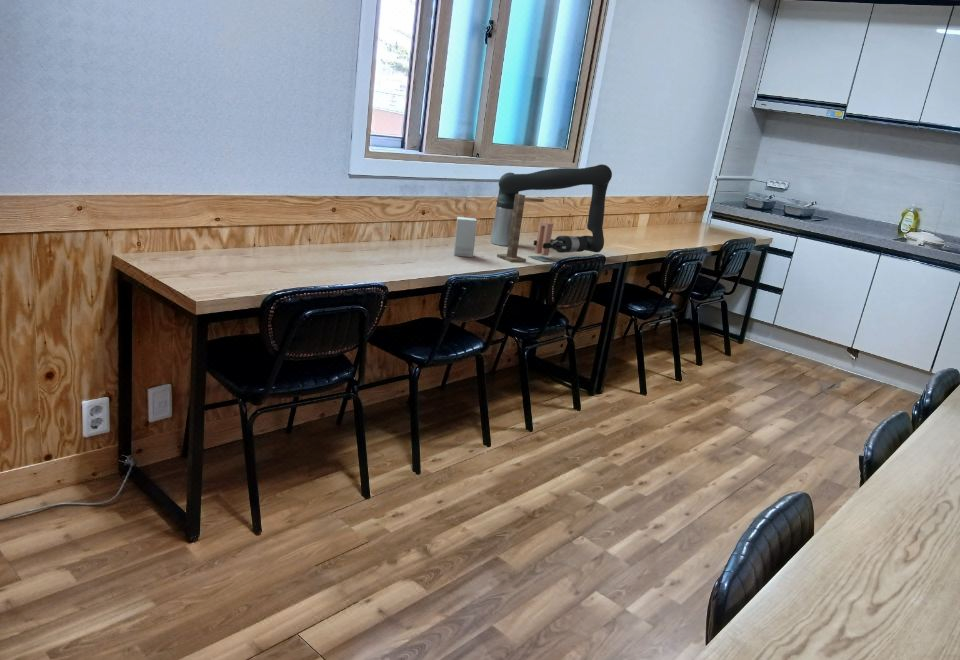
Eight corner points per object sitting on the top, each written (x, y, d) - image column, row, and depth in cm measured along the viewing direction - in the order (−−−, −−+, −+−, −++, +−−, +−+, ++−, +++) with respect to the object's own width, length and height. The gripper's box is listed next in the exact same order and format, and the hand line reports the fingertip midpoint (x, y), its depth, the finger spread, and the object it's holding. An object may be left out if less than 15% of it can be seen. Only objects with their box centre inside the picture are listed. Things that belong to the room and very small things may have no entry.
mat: (528, 256, 327) (528, 256, 327) (541, 256, 332) (541, 255, 332) (543, 262, 320) (543, 261, 320) (556, 261, 325) (556, 260, 325)
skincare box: (472, 254, 315) (477, 218, 311) (473, 257, 309) (477, 220, 305) (453, 252, 315) (457, 216, 310) (453, 255, 308) (457, 218, 304)
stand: (496, 256, 318) (505, 192, 310) (526, 256, 328) (535, 193, 321) (511, 262, 310) (520, 196, 303) (541, 261, 321) (551, 197, 313)
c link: (534, 252, 327) (539, 221, 324) (539, 252, 329) (544, 221, 325) (543, 255, 323) (548, 223, 319) (548, 255, 325) (553, 223, 321)
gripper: (557, 232, 338) (529, 232, 328) (579, 239, 327) (550, 239, 317) (554, 248, 340) (526, 249, 330) (576, 255, 329) (548, 256, 319)
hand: (538, 244), depth 324 cm, fingers closed on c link, 5 cm apart
